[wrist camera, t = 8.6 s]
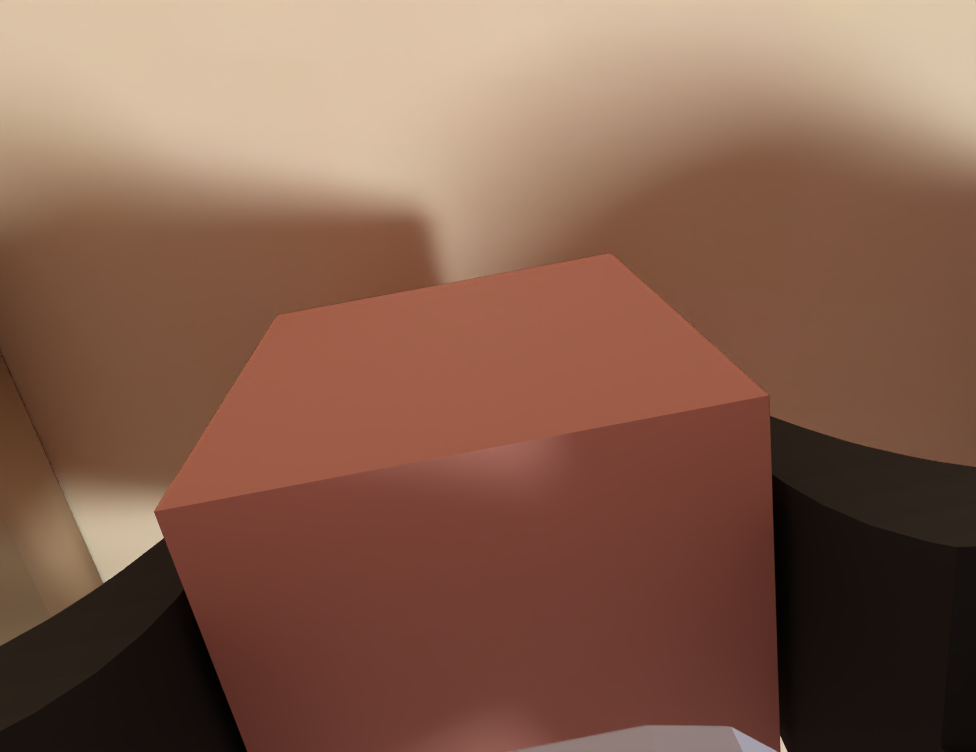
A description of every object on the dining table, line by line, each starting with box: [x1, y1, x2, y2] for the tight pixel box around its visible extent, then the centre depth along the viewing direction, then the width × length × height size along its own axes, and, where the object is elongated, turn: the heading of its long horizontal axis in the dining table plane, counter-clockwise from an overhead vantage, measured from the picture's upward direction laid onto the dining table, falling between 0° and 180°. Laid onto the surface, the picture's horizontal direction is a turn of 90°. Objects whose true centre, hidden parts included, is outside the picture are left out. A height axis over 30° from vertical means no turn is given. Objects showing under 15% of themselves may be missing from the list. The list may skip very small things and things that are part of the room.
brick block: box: [154, 253, 780, 752], centre depth 10 cm, size 6×6×6 cm
